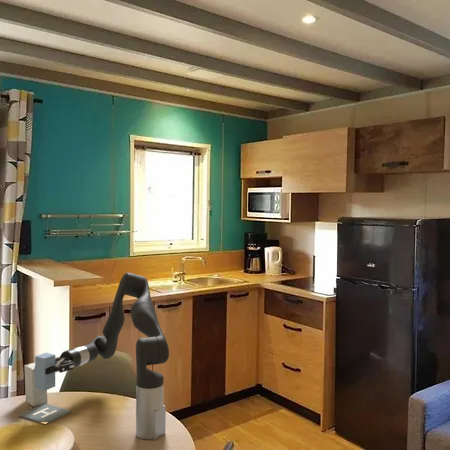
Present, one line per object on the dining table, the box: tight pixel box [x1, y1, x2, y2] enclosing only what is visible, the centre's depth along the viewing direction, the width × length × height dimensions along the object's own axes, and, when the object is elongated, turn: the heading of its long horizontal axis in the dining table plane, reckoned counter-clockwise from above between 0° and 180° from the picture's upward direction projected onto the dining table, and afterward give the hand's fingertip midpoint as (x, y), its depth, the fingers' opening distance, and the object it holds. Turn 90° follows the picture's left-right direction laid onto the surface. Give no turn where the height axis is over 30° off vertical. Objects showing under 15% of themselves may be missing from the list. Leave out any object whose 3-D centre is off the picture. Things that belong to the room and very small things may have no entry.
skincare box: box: [24, 362, 48, 407], centre depth 188 cm, size 8×6×15 cm
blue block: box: [34, 352, 56, 391], centre depth 177 cm, size 5×5×12 cm
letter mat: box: [18, 403, 72, 423], centre depth 177 cm, size 14×12×1 cm
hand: (40, 370), depth 175 cm, fingers closed on blue block, 5 cm apart
